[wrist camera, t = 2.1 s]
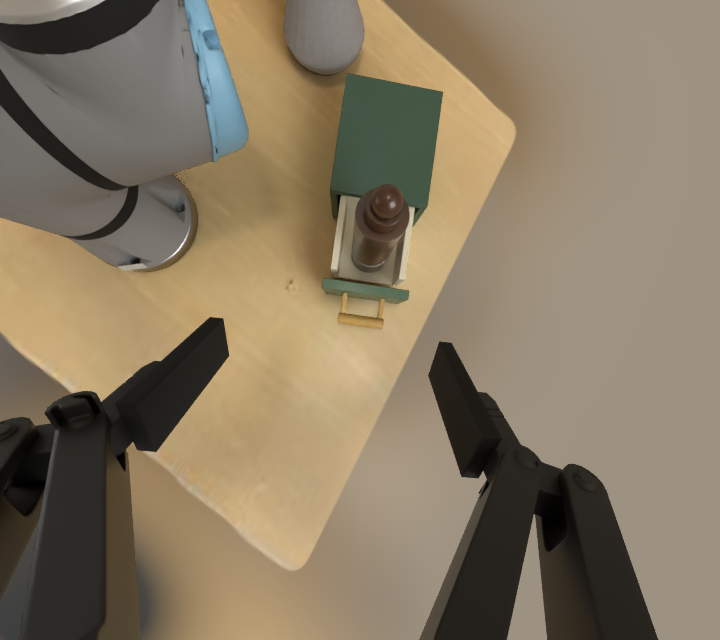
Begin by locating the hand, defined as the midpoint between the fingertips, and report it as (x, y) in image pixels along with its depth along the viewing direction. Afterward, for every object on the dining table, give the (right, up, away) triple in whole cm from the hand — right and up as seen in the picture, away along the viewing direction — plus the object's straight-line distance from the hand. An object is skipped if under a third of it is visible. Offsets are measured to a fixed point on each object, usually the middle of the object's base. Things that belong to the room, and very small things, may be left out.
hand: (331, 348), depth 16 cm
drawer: (+3, +10, +22) cm, 24 cm away
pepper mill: (+3, +11, +21) cm, 24 cm away
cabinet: (+5, +24, +24) cm, 34 cm away
